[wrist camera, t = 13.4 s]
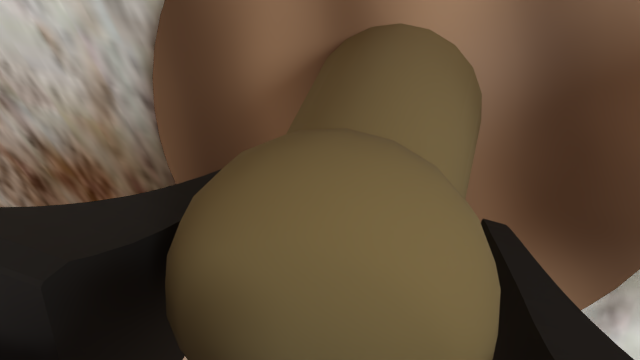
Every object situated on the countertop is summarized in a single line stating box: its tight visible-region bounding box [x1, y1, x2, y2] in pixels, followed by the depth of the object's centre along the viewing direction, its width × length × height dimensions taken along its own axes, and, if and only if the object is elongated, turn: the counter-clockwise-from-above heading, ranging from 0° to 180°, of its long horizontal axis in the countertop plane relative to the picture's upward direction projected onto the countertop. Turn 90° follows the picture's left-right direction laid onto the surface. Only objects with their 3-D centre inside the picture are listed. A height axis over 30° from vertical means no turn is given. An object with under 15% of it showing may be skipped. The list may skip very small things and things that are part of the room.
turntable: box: [153, 0, 640, 310], centre depth 14 cm, size 20×20×5 cm
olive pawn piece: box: [165, 23, 501, 360], centre depth 10 cm, size 6×6×11 cm
